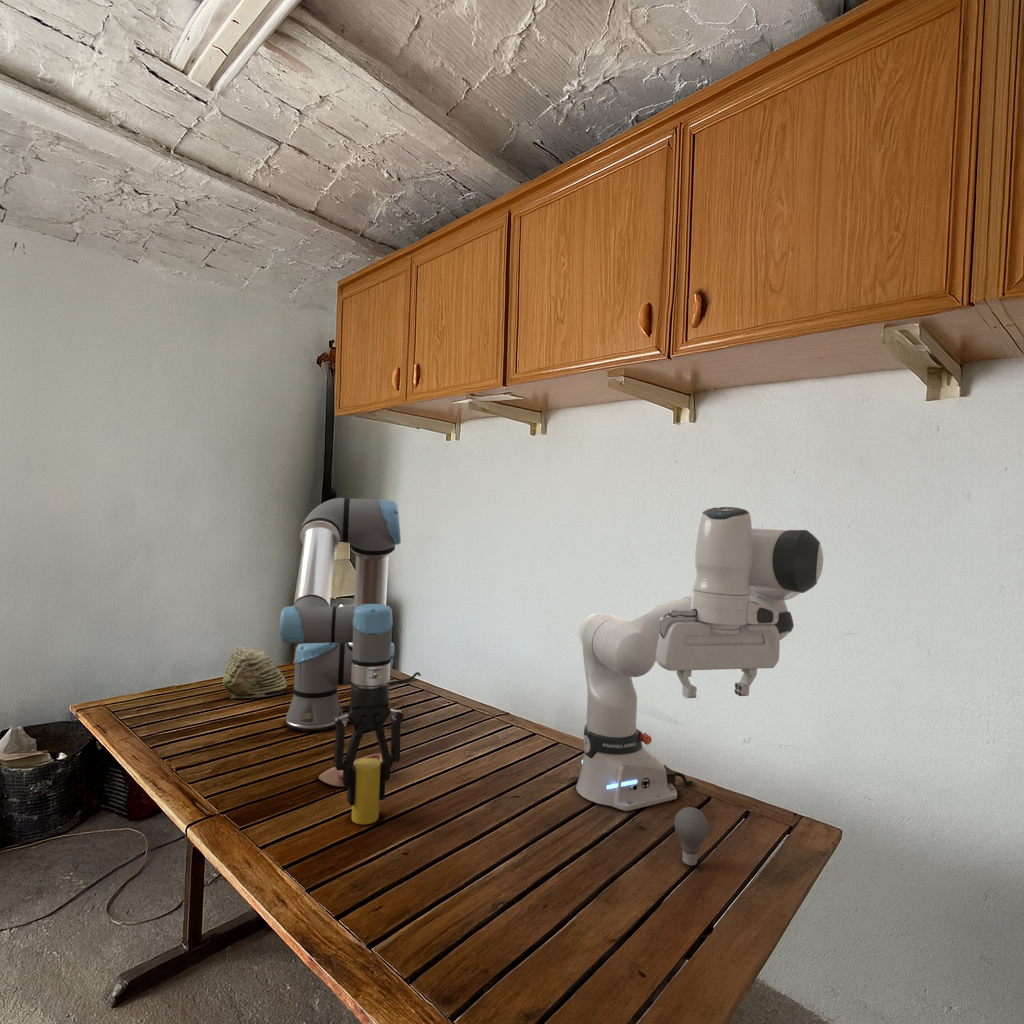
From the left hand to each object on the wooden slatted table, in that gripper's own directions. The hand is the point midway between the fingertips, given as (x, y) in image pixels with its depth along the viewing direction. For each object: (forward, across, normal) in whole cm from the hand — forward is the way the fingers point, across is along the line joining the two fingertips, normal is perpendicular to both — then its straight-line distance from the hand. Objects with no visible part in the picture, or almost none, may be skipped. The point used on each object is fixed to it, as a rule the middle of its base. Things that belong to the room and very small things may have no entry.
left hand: (365, 799), depth 126 cm
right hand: (-31, +42, -49) cm, 72 cm away
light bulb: (+4, +49, -38) cm, 63 cm away
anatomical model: (+4, +2, +19) cm, 20 cm away
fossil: (+4, -13, +88) cm, 89 cm away
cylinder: (+4, 0, 0) cm, 4 cm away
